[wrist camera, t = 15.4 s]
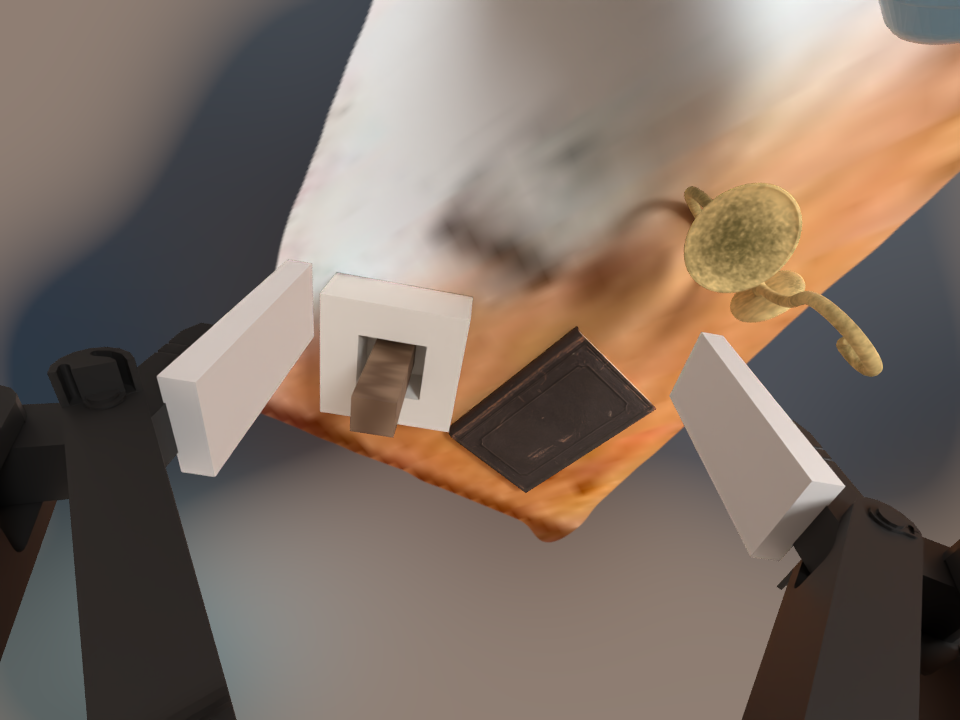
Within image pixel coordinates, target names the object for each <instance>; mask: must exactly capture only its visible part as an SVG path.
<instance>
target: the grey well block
mask: <svg viewBox="0 0 960 720" xmlns="http://www.w3.org/2000/svg"><path fill="white" fill-rule="evenodd" d="M472 302H473V297H469V296H464V295H458V294H453V293H447V292H442V291H436V290H431V289H425V288H420V287H414V286H409V285H403V284H398V283H393V282H387V281H382V280H376V279H371V278H365V277H360V276H354V275H349V274H343V273H338V272H337V273H336V274H335V275H334V276H333V278H332V279H331V280H330V281H329V283H328V284H327V285H326V286H325V288H324V289H323V290H322V291H321V293H320V412H326V413H332V414H338V415H344V416H350V413H351V396H352V393H353V391H354V389H355V387H356V384H357V382H358V380H359V378H360V376H361V373H362V371H363V369H364V367H365V364H366V362H367V360H368V358H369V356H370V353H371V351H372V349H373V347H374V344H375V342H376V340H377V338H379V339H385V340H390V341H396V342H402V343H408V344H413V345H416V353H415V362H414V366H413V370H412V373H411V377H410V380H409V384H408V388H407V391H406V395H405V398H404V402H403V405H402V409H401V412H400V416H399V419H398V423H397V424H400V425H407V426H413V427H419V428H425V429H432V430H438V431H444V432H449V428H450V423H451V418H452V413H453V408H454V403H455V398H456V392H457V387H458V382H459V377H460V372H461V367H462V362H463V357H464V351H465V346H466V341H467V336H468V331H469V326H470V321H471V311H472Z"/></svg>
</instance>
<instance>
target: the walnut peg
mask: <svg viewBox="0 0 960 720" xmlns="http://www.w3.org/2000/svg"><path fill="white" fill-rule="evenodd" d="M415 353H416V345H413V344H408V343H402V342H396V341H390V340H385V339H379V338H377V340H376V342H375V344H374V347H373V349H372V351H371V353H370V356H369V358H368V360H367V362H366V364H365V367H364V369H363V371H362V373H361V376H360V378H359V380H358V382H357V384H356V387H355V389H354V391H353V393H352V396H351V413H350V431H354V432H360V433H367V434H373V435H380V436H386V437H394V434H395V430H396V426H397V423H398V419H399V416H400V412H401V409H402V405H403V402H404V398H405V395H406V391H407V388H408V384H409V380H410V377H411V373H412V370H413V366H414V362H415Z"/></svg>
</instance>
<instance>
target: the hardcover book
mask: <svg viewBox="0 0 960 720" xmlns="http://www.w3.org/2000/svg"><path fill="white" fill-rule="evenodd" d="M654 410H656V408H655V407H654V406H653V405H652V404H651V402H650V401H649V400H648V399H647V398H646V397H645V396H644V395H643V394H642V393H641V392H640V391H639V390H638V389H637V388H636V387H635V386H634V385H633V384H632V383H631V382H630V381H629V380H628V379H627V378H626V377H625V376H624V375H623V374H622V373H621V372H620V371H619V370H618V369H617V368H616V367H615V366H614V365H613V364H612V363H611V362H610V361H609V360H608V359H607V358H606V357H605V356H604V355H603V354H602V353H601V352H600V351H599V350H598V349H597V348H596V347H595V346H594V345H593V344H592V343H591V342H590V341H589V340H588V339H587V338H586V337H585V336H584V335H583V334H582V333H581V332H580V331H579V330H578V327H575V328H574V329H573V330H571V331H570V332H569V333H568V334H566V335H565V336H564V337H563V338H561V339H560V340H559V341H558V342H556V343H555V344H554V345H552V346H551V347H550V348H549V349H547V350H546V351H545V352H544V353H542V354H541V355H540V356H539V357H537V358H536V359H535V360H533V361H532V362H531V363H530V364H528V365H527V366H526V367H525V368H523V369H522V370H521V371H520V372H518V373H517V374H516V375H514V376H513V377H512V378H511V379H509V380H508V381H507V382H506V383H504V384H503V385H502V386H501V387H499V388H498V389H497V390H495V391H494V392H493V393H492V394H490V395H489V396H488V397H487V398H485V399H484V400H483V401H482V402H480V403H479V404H478V405H476V406H475V407H474V408H473V409H471V410H470V411H469V412H468V413H466V414H465V415H464V416H463V417H461V418H460V419H459V420H457V421H456V422H455V423H454V424H452V425H451V426H450V428H449V435H450V436H451V437H452V438H453V439H454V440H456V441H457V442H458V443H460V444H461V445H462V446H464V447H465V448H466V449H468V450H469V451H470V452H472V453H473V454H474V455H476V456H477V457H478V458H480V459H481V460H482V461H484V462H485V463H486V464H488V465H489V466H490V467H492V468H493V469H494V470H496V471H497V472H498V473H500V474H501V475H502V476H504V477H505V478H506V479H508V480H509V481H510V482H512V483H513V484H514V485H516V486H517V487H518V488H520V489H521V490H522V491H524V492H525V493H527V492H528V491H530V490H531V489H533V488H534V487H536V486H537V485H539V484H541V483H542V482H544V481H545V480H547V479H548V478H550V477H551V476H553V475H555V474H556V473H558V472H559V471H561V470H562V469H564V468H565V467H567V466H569V465H570V464H572V463H573V462H575V461H576V460H578V459H579V458H581V457H583V456H584V455H586V454H587V453H589V452H590V451H592V450H593V449H595V448H597V447H598V446H600V445H601V444H603V443H604V442H606V441H607V440H609V439H610V438H612V437H614V436H615V435H617V434H618V433H620V432H621V431H623V430H624V429H626V428H628V427H629V426H631V425H632V424H634V423H635V422H637V421H638V420H640V419H642V418H643V417H645V416H646V415H648V414H649V413H651V412H652V411H654Z"/></svg>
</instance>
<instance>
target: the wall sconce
mask: <svg viewBox="0 0 960 720" xmlns="http://www.w3.org/2000/svg"><path fill="white" fill-rule="evenodd" d="M684 197H685V200H686V203H687V205H688V207H689V209H690V211H691V213H692V214H693V216H694V218H695V220H694V221H693V223H692V225H691V227H690V229H689V231H688V234H687V237H686V240H685V245H684V260H685V265H686V267H687V270H688V272H689V274H690V276H691V277H692V278H693V279H694V280H695V281H696V282H697V283H698V284H699V285H700V286H702V287H704V288H706V289H708V290H710V291H714V292H720V293H734V292H736V294H735V295H734V297H733V298H732V300H731V304H730V310H731V312H732V314H733V316H734V317H735V318H736V319H738V320H740V321H743V322H761V321H765V320H768V319H771V318H774V317H776V316H778V315H780V314H782V313H784V312H786V311H787V310H789V309H790V308H793V307H797V306H800V305H804V304H806V305H809V306H810V307H812V308H814V309H815V310H816V311H818V312H819V313H820V314H821V315H822V316H824V318H826V319H827V320H828V321H829V322H830V323H831V324H832V325H833V326H834V327H835V328H836V329H837V330H838V331H839V333H841V335H842V336H843V337H842V338H840V339H839V340H838V341H837V344H836V346H837V348H838V351H839V352H840V353H841V354H842V356H843V357H844V358H845V359H846V361H848V363H849V364H850V365H851V366H852V367H853V368H854V369H856V370H857V371H858V372H860V373H861V374H863V375H866V376H870V377H872V376H876V375H878V374H879V373H880V372H881V371H882V369H883V365H882V361H881V359H880V356H879V354H878V353H877V351H876V349H875V348H874V346H873V345H872V343H871V342H870V341H869V339H868V338H867V337H866V336H865V334H864V333H863V332H862V330H861V329H860V328H859V327H858V326H857V325H856V324H855V323H854V322H853V321H852V320H851V319H850V318H849V317H848V316H847V315H846V314H845V313H844V312H843V311H842V310H841V309H840V308H839V307H837V306H836V305H835V304H834V303H832V302H831V301H830V300H828V299H827V298H825V297H824V296H822V295H820V294H818V293H815V292H812V291H804V290H805V282H804V280H803V278H802V277H801V276H800V275H799V274H797V273H795V272H792V271H786V270H781V271H779V270H780V269H781V268H782V267H783V266H784V265H785V264H786V263H787V261H788V260H789V259H790V257H791V256H792V254H793V253H794V251H795V249H796V247H797V245H798V242H799V239H800V235H801V231H802V215H801V211H800V208H799V205H798V203H797V202H796V200H795V199H794V197H793V196H792V195H791V194H790V193H789V192H787V191H786V190H784V189H783V188H781V187H778V186H776V185H772V184H767V183H751V184H745V185H741V186H738V187H735V188H733V189H730V190H728V191H726V192H724V193H722V194H721V195H719V196H718V197H716V198H715V199H713V200H712V199H711V198H710V197H709V196H708V195H707V194H706V193H704V192H703V191H702V190H700V189H698V188H696V187H693V186H691V187H688V188H687V189H686V190H685V192H684ZM699 204H700V205H701V206H702V207H703V209H701V207H700V205H699Z"/></svg>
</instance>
